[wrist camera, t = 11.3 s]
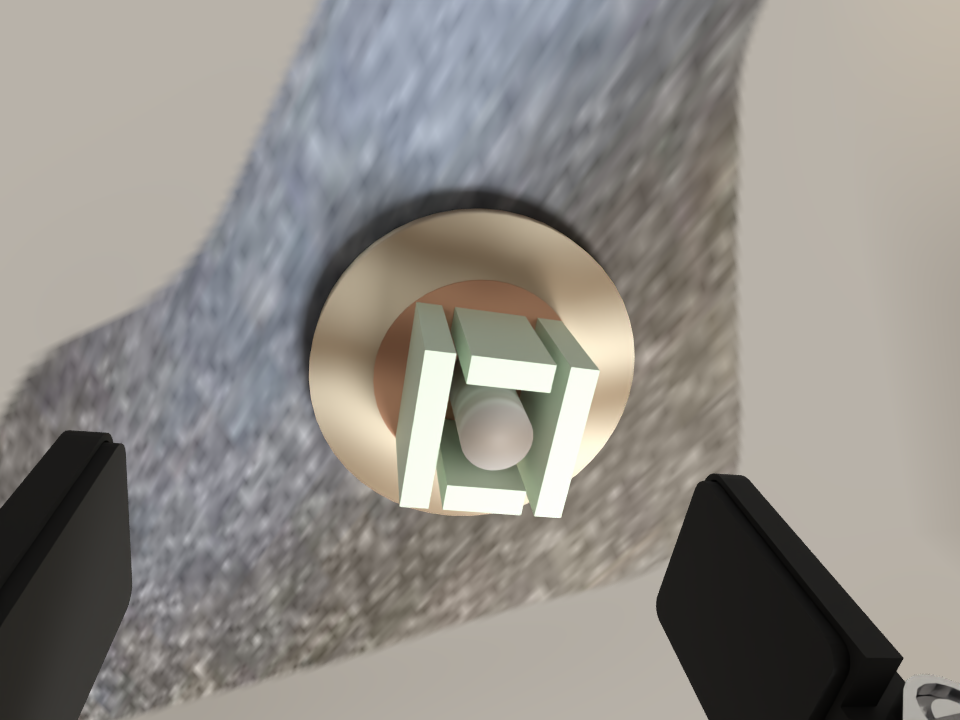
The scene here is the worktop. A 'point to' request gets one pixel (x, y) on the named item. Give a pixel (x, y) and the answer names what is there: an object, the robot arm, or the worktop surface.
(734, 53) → the worktop surface
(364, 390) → the post base
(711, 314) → the worktop surface
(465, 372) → the collar
